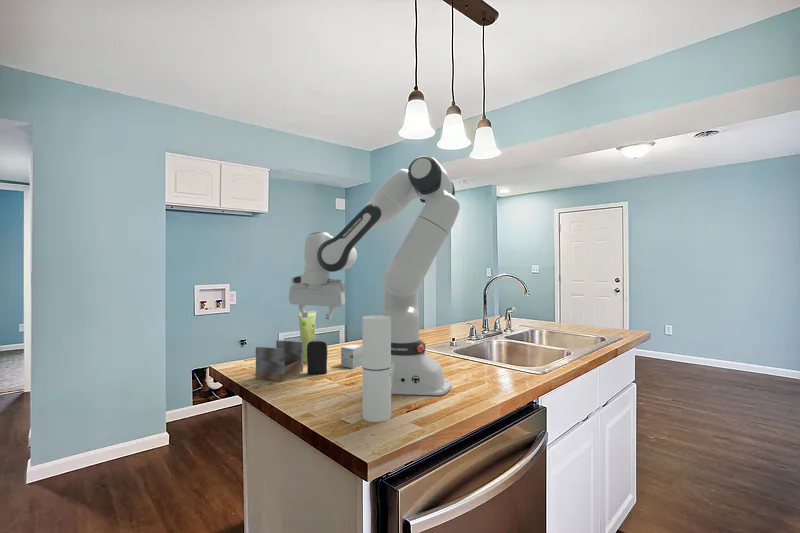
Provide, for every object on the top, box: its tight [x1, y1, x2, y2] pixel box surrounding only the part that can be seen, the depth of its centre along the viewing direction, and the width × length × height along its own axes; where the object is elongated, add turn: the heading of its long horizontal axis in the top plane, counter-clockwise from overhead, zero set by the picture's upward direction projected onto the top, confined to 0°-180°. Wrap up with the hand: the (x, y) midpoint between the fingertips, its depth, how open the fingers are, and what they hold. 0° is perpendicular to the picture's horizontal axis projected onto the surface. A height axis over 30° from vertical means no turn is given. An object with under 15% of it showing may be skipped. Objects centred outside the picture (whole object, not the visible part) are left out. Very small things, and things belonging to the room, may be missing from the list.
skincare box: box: [340, 344, 363, 369], centre depth 148 cm, size 6×6×7 cm
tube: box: [297, 310, 317, 364], centre depth 154 cm, size 6×5×20 cm
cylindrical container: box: [361, 314, 392, 423], centre depth 100 cm, size 7×7×25 cm
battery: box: [306, 339, 328, 375], centre depth 139 cm, size 7×4×11 cm, turn 95°
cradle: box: [255, 339, 304, 383], centre depth 136 cm, size 10×13×10 cm
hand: (316, 318), depth 139 cm, fingers open, 8 cm apart
